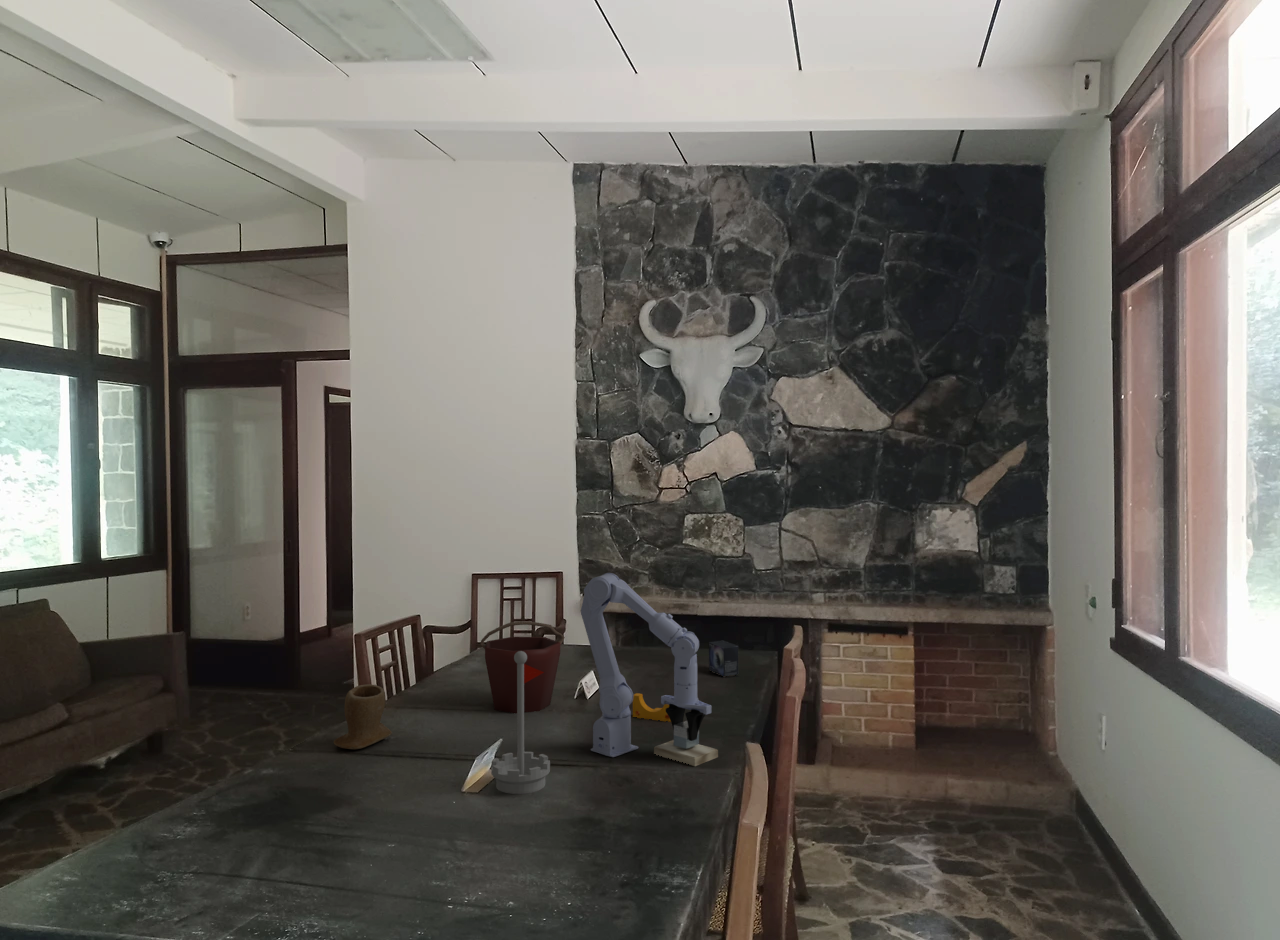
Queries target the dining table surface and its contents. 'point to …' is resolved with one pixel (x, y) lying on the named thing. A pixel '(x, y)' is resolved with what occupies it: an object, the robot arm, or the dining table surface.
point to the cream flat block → (686, 753)
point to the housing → (683, 736)
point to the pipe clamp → (648, 710)
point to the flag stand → (521, 747)
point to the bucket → (539, 656)
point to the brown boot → (363, 717)
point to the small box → (723, 658)
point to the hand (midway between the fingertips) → (685, 737)
